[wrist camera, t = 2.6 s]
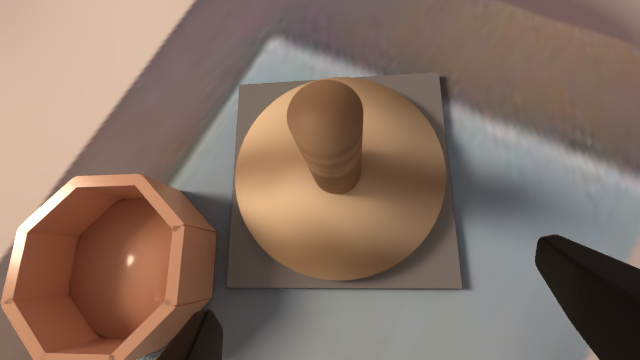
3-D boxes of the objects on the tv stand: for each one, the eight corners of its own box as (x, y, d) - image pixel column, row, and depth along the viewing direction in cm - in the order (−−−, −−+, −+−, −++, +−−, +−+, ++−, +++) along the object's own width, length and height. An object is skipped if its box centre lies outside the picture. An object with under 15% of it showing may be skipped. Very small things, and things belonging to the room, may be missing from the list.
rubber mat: (459, 288, 20) (462, 288, 20) (229, 287, 22) (226, 287, 21) (437, 75, 24) (438, 72, 24) (241, 88, 26) (239, 84, 25)
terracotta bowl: (208, 349, 21) (170, 371, 17) (58, 345, 22) (-14, 365, 18) (220, 188, 24) (189, 172, 19) (86, 193, 25) (29, 177, 21)
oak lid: (452, 280, 20) (532, 293, 11) (234, 279, 22) (143, 291, 12) (432, 78, 24) (479, -39, 14) (245, 90, 25) (181, -10, 16)
